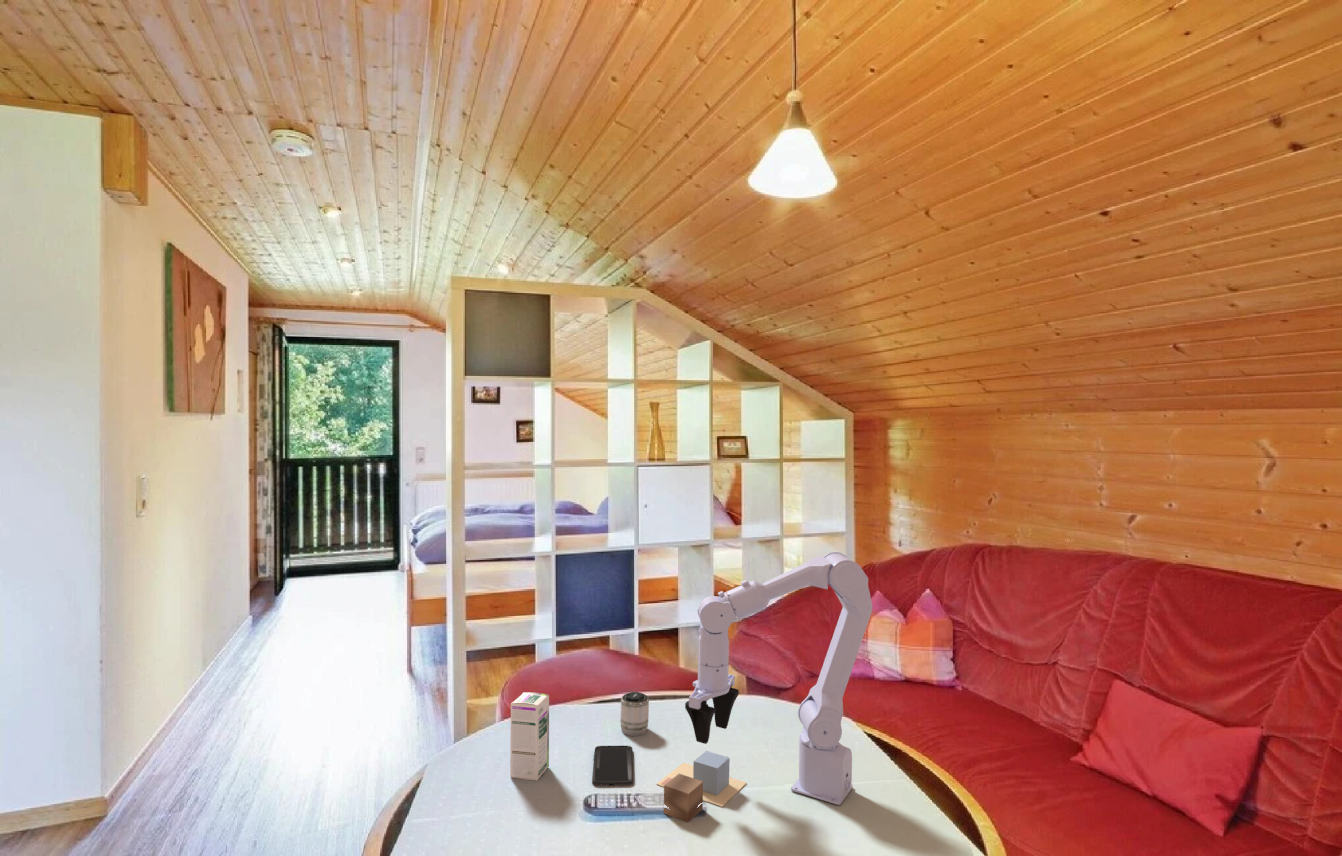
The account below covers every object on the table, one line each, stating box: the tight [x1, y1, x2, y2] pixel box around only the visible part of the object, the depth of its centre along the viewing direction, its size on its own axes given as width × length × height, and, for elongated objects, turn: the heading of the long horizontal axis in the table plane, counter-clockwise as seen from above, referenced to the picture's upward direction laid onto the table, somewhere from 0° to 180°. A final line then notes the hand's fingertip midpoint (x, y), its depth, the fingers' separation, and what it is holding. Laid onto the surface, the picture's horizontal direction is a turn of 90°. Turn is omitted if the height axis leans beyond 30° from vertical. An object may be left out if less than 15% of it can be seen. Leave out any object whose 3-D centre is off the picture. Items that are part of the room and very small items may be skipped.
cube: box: [693, 750, 731, 796], centre depth 129 cm, size 5×5×5 cm
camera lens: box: [619, 691, 650, 737], centre depth 153 cm, size 6×6×8 cm
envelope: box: [655, 762, 747, 808], centre depth 130 cm, size 14×10×1 cm
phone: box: [591, 745, 634, 787], centre depth 136 cm, size 8×1×15 cm
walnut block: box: [663, 774, 704, 823], centre depth 121 cm, size 5×5×5 cm
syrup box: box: [509, 691, 550, 782], centre depth 134 cm, size 6×6×14 cm
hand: (712, 734), depth 129 cm, fingers open, 7 cm apart
